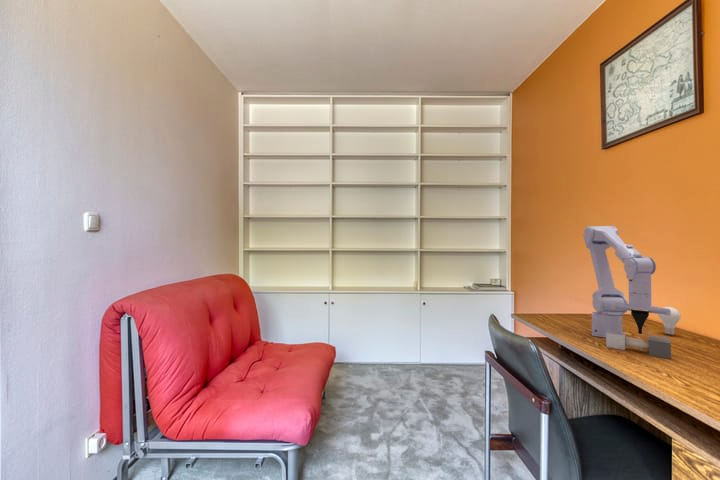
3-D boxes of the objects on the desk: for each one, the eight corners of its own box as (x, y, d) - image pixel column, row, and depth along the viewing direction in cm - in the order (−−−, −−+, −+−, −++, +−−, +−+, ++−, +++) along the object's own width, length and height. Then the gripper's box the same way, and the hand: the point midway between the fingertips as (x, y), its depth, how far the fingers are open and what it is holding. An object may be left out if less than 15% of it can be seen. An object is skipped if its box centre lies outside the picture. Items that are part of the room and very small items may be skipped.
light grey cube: (606, 347, 108) (606, 332, 109) (607, 343, 112) (607, 329, 112) (625, 350, 105) (624, 335, 105) (625, 346, 109) (625, 332, 109)
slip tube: (618, 345, 107) (618, 323, 107) (619, 343, 109) (618, 322, 109) (662, 353, 99) (662, 329, 100) (662, 350, 102) (662, 327, 102)
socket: (649, 355, 100) (648, 339, 100) (649, 349, 105) (648, 335, 105) (671, 359, 97) (670, 343, 97) (669, 353, 102) (669, 338, 102)
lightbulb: (686, 337, 119) (685, 308, 119) (669, 337, 119) (668, 308, 119) (669, 332, 125) (669, 305, 125) (653, 332, 125) (653, 305, 125)
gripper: (611, 292, 106) (611, 331, 106) (670, 297, 96) (671, 340, 96) (612, 289, 112) (613, 327, 111) (669, 294, 102) (670, 335, 102)
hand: (640, 333), depth 104 cm, fingers closed
